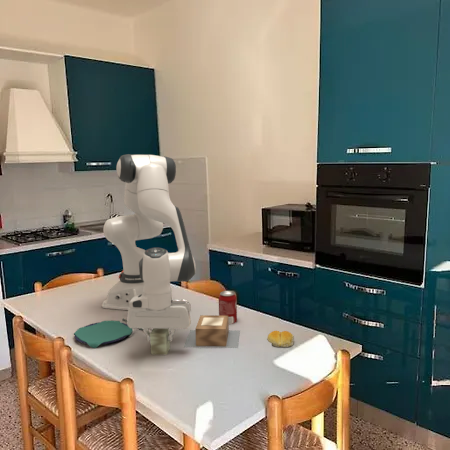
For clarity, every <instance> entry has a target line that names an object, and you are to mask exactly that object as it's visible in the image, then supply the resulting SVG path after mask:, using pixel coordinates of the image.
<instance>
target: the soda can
mask: <svg viewBox="0 0 450 450" xmlns="http://www.w3.org/2000/svg"><path fill="white" fill-rule="evenodd" d="M235 293H236V292H235V291H232V290H223V291H221V292H220V293H219V296H218V315H221V316H228V319H229V325H235V324H236V323H237V321H238V309H237V305H238V303H237V298H238V297H237V296H236V294H235Z"/></svg>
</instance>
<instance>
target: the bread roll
mask: <svg viewBox="0 0 450 450" xmlns="http://www.w3.org/2000/svg"><path fill="white" fill-rule="evenodd" d="M267 340H268V342H269V343H271V346H272V347H275V348H279V347H282V348H289V347H292V346H293V345H294V343H295V335H294V334H293V333H291V332H290V331H287V330H283V331H280V330H272V331H270V333H269V334H268V335H267Z"/></svg>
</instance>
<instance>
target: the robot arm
mask: <svg viewBox="0 0 450 450" xmlns="http://www.w3.org/2000/svg"><path fill="white" fill-rule="evenodd" d="M115 168H116V174H117V177H118V180H120V181H121V182H123V183H125V188H124V196H123V197H124V198H123V203H124V206H125V208H126V209H128V210H130V211H131V212H133V214H130V215H129V214H127V215H120V216H114V217H112V218H108V219H107V220H106V221H105V222H104V225H103V227H102V228H103V230H102V231H103V235H104V237H105V239H106V240H107V241H108V242H110V243H112V244H113V245H114V246H115V247H116V248H117V249H118V251H119V252H120V255H121V259H122V267H123V269H122V271H121V272H120V273H119V275H118V279H119V281H118V282H117V283H116V284H114V285H112V287H110V289H109V290H108V292H107V298H106V299H105V300H103V302H102V303H101V307H102V309H111V310H120V311H121V310H122V311H123V310H124V311H125V310H126V311H127V316H126V317H127V318H126V320H127V321H126V324H127V325H128V327H129V328H132V329H138V328H142V329H143V330H142V331H143V333H144V334H145V336H147V337H146V341H148V342H151V341H150V333H151V331H150V329H153V328H154V329H169V334H168V336H167V341H170V342H172V341H173V338H174V336H173V335H174V333H175V331H176V329H177V330H180V329H181V330H182V329H183V330H187V329H188V328H189V327H190V326H191V323H192V320H191V314H190V313H191V308H192V306H191V303H190V302H189V301H187V300H186V299H184V298H183V299H175V298H174V299H173V295H172V294H173V293H172V286H171V282H179V283H180V282H183V283H184V282H186V283H187V282H188V281H190V280H191V279H193V277H195V274H196V270H197V268H196V261H195V258H194V256H193V254H192V249H191V247H190V243H189V239H188V235H187V230H186V227H185V222H184V219H183V215H182V212H181V210H180V208H179V207H178V206H175V205H174V204H173V201H172V200H171V197H170V187H169V184H171V183H173V182H174V181H175V179H176V175H177V165H176V162H175V160H174V159H173V158H171V157H170V156H169V157H168V156H166V155H165V156H161V155H155V154H131V153H130V154H129V153H128V154H123V155H120V157H119V159H118V161H117V163H116V167H115ZM164 224H165V225H167V226H169V228H171V229H172V231H173V234H174V237H175V242H176V246H177V251H176V252H168V250H167V249H165V248H164V247H163V248H162V247H150V248H148V249H146V250H145V249H143V248H140V247H137V245H136V244H137V243H136V241H141V240H148V239H153V238H156V237H158V236H160V235H161V234H162V232H163V229H164ZM170 332H171V333H170Z"/></svg>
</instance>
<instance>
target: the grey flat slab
mask: <svg viewBox="0 0 450 450" xmlns="http://www.w3.org/2000/svg"><path fill="white" fill-rule="evenodd" d="M240 336H241V330H233V329H232V330H230V329H229V333H228V339H227V344H226V346H196V330H195V329H190V330H189V333H188V335H187V338H186V340H185V343H184V345H183V348H206V349H208V348H211V349H212V348H215V349H216V348H219V349H222V348H223V349H239V343H240Z"/></svg>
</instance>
